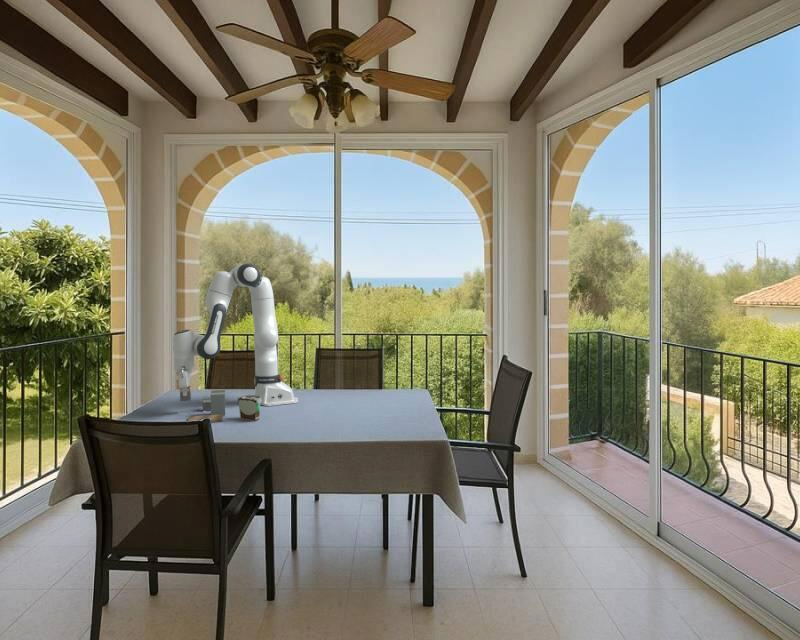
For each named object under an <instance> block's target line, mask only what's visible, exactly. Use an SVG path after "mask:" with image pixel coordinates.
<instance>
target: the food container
mask: <svg viewBox="0 0 800 640" xmlns="http://www.w3.org/2000/svg"><path fill="white" fill-rule="evenodd" d="M237 402H238V408H239V418H240V419H241V420H246V421H252V422H258V421H259V420H260V413H261V411H260V410H261V405H260V403H261V402H262V400H261V398H260V396H257V395H255V394H246V395H239V396H238V397H237Z"/></svg>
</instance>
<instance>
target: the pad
mask: <svg viewBox="0 0 800 640" xmlns="http://www.w3.org/2000/svg"><path fill="white" fill-rule="evenodd" d="M204 418H210V419H211V422H212V423H211V424H214V423H223V418H224V416H223V414H217V415H211V414H206V415H205V414H204V415H203V414H202V415H191V416H189V417H188V420H187V422H188V421H194V420H202V419H204Z"/></svg>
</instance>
